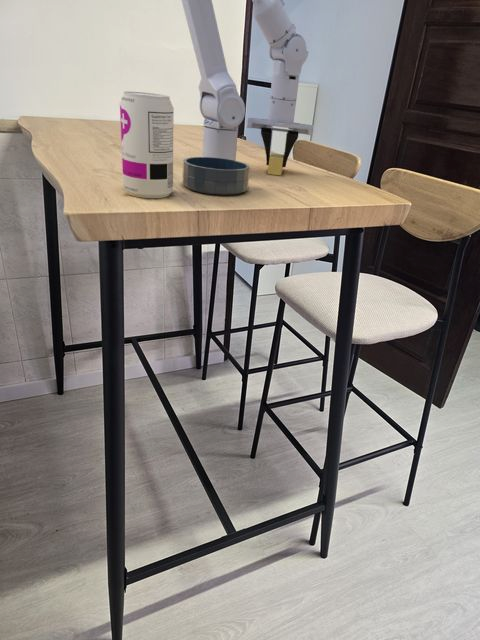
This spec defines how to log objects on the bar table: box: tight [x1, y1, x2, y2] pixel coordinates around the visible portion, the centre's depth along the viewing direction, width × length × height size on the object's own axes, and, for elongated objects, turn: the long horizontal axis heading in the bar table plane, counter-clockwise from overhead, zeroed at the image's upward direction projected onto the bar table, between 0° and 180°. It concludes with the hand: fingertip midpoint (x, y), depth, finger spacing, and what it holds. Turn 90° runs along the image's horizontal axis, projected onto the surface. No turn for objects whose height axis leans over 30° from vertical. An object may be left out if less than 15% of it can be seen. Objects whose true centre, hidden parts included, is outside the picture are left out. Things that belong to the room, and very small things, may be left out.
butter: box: [267, 152, 284, 176], centre depth 109 cm, size 7×3×4 cm, turn 175°
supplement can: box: [119, 90, 175, 199], centre depth 77 cm, size 8×8×15 cm
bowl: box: [181, 156, 251, 196], centre depth 89 cm, size 12×12×4 cm
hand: (275, 165), depth 109 cm, fingers closed on butter, 3 cm apart
